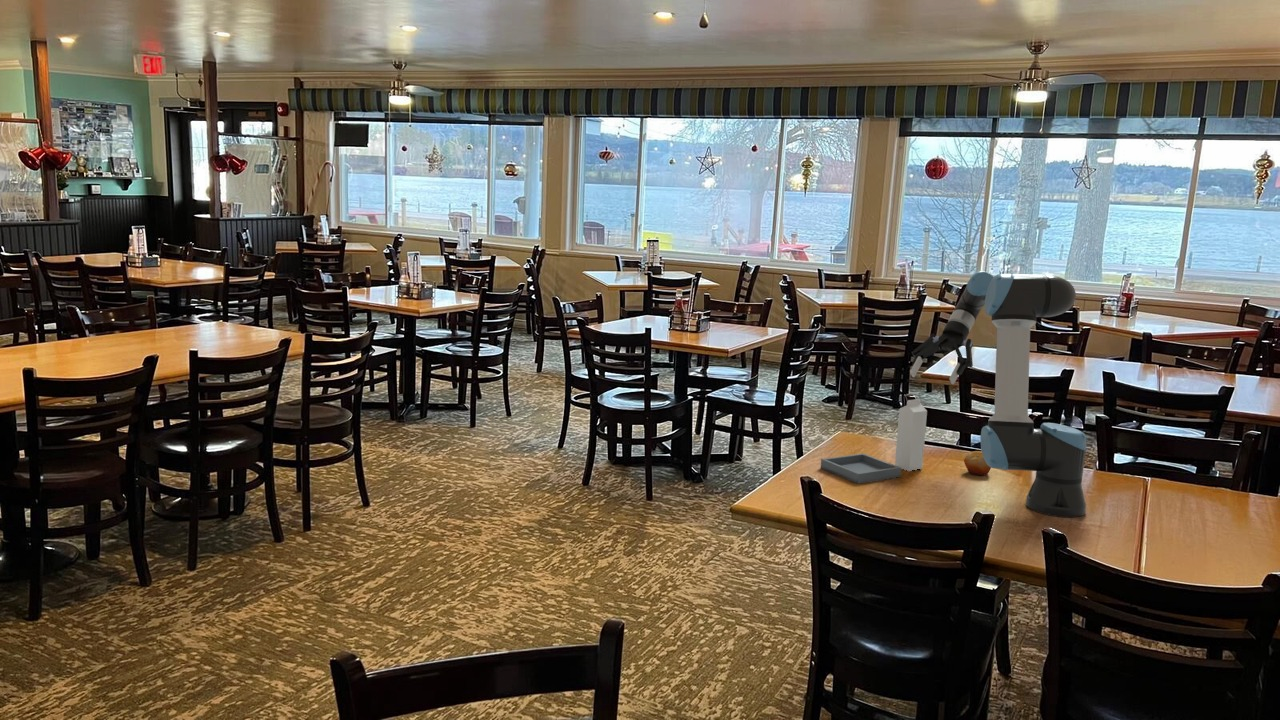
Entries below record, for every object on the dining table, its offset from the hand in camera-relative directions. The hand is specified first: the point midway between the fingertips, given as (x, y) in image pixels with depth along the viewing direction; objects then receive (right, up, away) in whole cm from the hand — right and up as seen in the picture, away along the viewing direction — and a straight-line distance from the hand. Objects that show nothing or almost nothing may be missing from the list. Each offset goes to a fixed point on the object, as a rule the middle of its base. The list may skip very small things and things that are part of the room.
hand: (931, 378), depth 296 cm
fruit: (+12, -30, -6) cm, 33 cm away
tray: (-25, -29, -9) cm, 39 cm away
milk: (-8, -28, -2) cm, 30 cm away
